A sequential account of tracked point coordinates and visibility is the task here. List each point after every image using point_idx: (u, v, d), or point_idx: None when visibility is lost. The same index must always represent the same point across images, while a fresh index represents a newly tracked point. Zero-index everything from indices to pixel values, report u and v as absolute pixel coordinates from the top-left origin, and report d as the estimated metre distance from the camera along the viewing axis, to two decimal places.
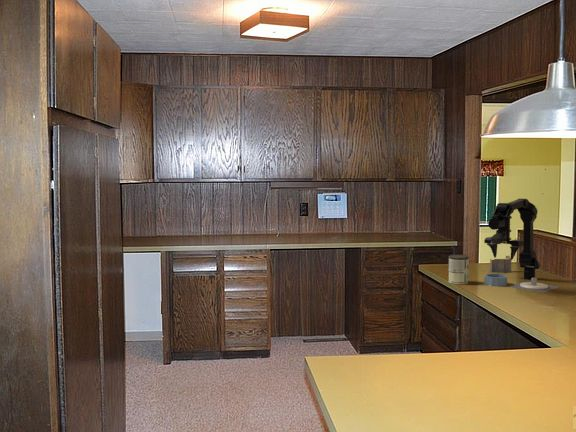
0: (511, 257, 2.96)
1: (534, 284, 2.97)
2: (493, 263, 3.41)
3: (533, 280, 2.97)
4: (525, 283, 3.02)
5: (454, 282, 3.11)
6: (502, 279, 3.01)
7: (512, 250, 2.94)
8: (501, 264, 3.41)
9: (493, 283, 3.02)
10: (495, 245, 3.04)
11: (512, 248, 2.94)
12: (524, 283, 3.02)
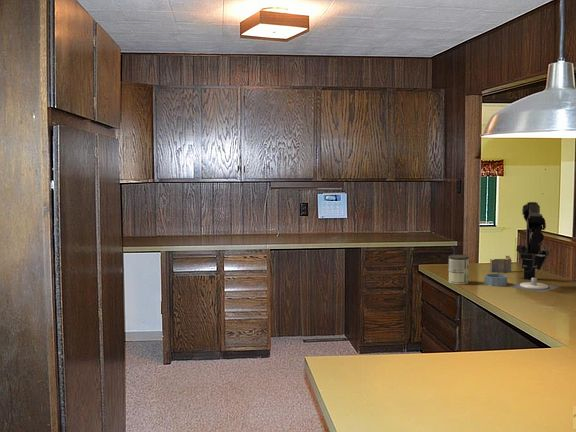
0: (528, 269, 2.95)
1: (534, 284, 2.97)
2: (493, 263, 3.41)
3: (533, 280, 2.97)
4: (525, 283, 3.02)
5: (454, 282, 3.11)
6: (502, 279, 3.01)
7: None
8: (501, 264, 3.41)
9: (493, 283, 3.02)
10: (541, 258, 3.00)
11: None
12: (524, 283, 3.02)
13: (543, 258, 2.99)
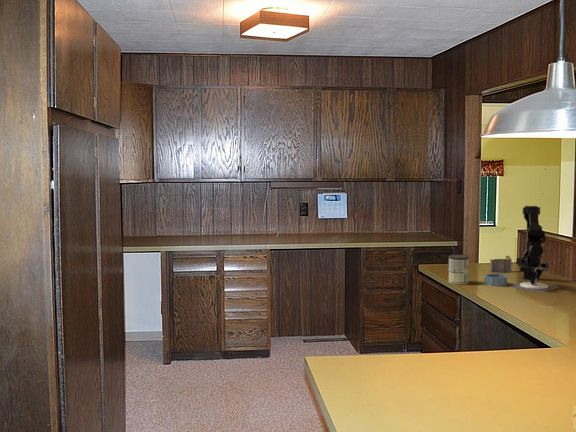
0: None
1: (534, 284, 2.97)
2: (493, 263, 3.41)
3: None
4: (525, 283, 3.02)
5: (454, 282, 3.11)
6: (502, 279, 3.01)
7: None
8: (501, 264, 3.41)
9: (493, 283, 3.02)
10: (537, 271, 2.99)
11: None
12: (524, 283, 3.02)
13: (540, 272, 2.98)
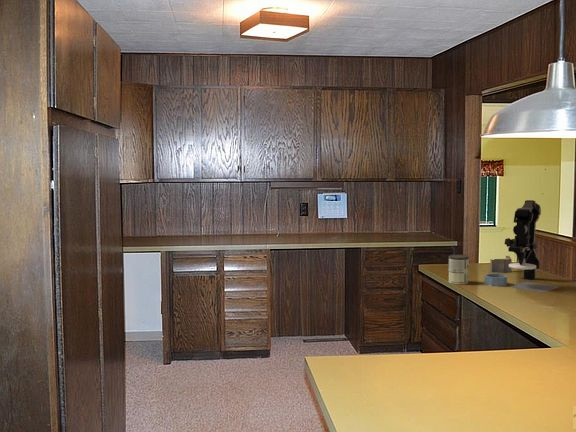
0: (519, 262, 2.99)
1: (522, 264, 2.99)
2: (493, 263, 3.41)
3: None
4: (513, 264, 3.04)
5: (454, 282, 3.11)
6: (502, 279, 3.01)
7: None
8: (501, 264, 3.41)
9: (493, 283, 3.02)
10: (525, 252, 3.00)
11: None
12: (512, 264, 3.04)
13: (528, 252, 2.99)
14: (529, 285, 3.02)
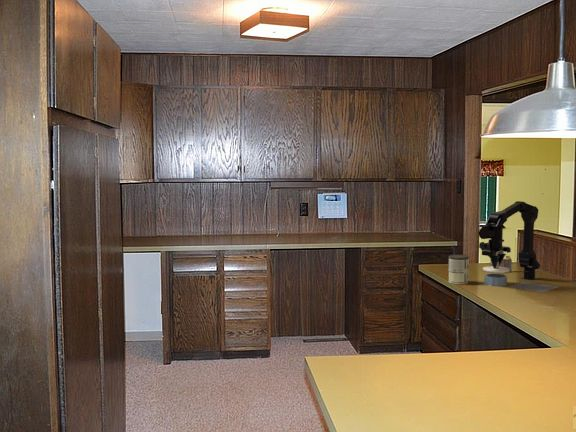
0: (493, 265, 3.05)
1: (496, 268, 3.05)
2: None
3: None
4: (488, 267, 3.10)
5: (454, 282, 3.11)
6: (502, 279, 3.01)
7: None
8: (501, 264, 3.41)
9: (493, 283, 3.02)
10: (499, 255, 3.06)
11: None
12: (487, 267, 3.10)
13: (502, 255, 3.05)
14: (529, 285, 3.02)
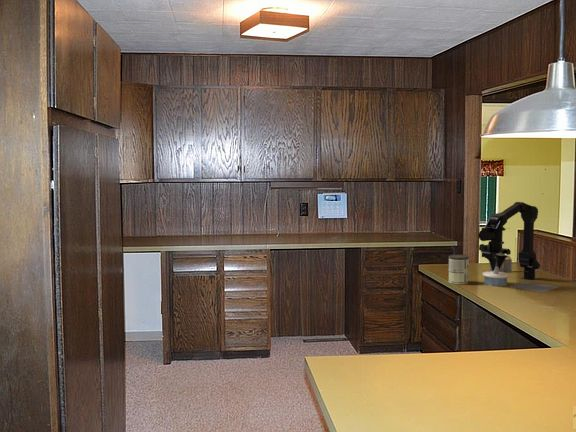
0: (491, 267, 3.05)
1: (496, 273, 3.05)
2: None
3: (495, 269, 3.05)
4: (488, 272, 3.10)
5: (454, 282, 3.11)
6: (502, 279, 3.01)
7: None
8: None
9: (493, 283, 3.02)
10: (501, 257, 3.07)
11: None
12: (487, 272, 3.10)
13: (503, 257, 3.06)
14: (529, 285, 3.02)
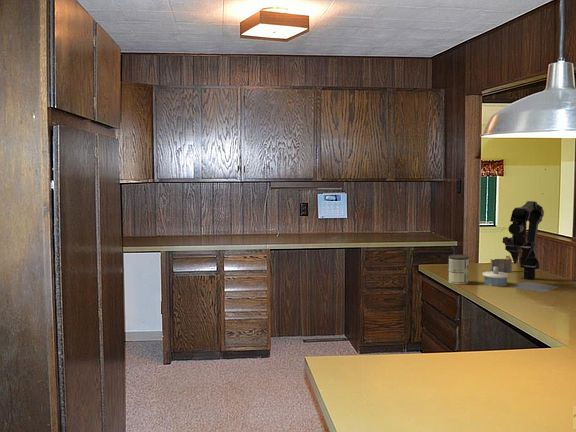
0: (513, 261, 3.03)
1: (496, 273, 3.05)
2: (493, 263, 3.41)
3: (495, 269, 3.05)
4: (487, 272, 3.10)
5: (454, 282, 3.11)
6: (502, 279, 3.01)
7: None
8: (501, 264, 3.41)
9: (493, 283, 3.02)
10: (526, 249, 3.07)
11: None
12: (486, 272, 3.10)
13: (529, 250, 3.06)
14: (529, 285, 3.02)
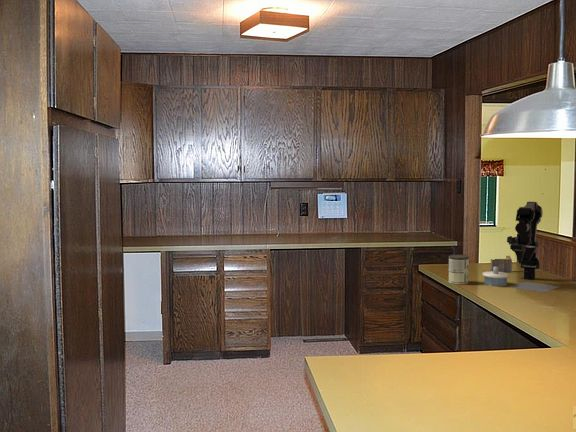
0: (518, 260, 3.02)
1: (496, 273, 3.05)
2: (493, 263, 3.41)
3: (495, 269, 3.05)
4: (487, 272, 3.10)
5: (454, 282, 3.11)
6: (502, 279, 3.01)
7: None
8: (501, 264, 3.41)
9: (493, 283, 3.02)
10: (530, 249, 3.07)
11: None
12: (486, 272, 3.10)
13: (533, 249, 3.06)
14: (529, 285, 3.02)
